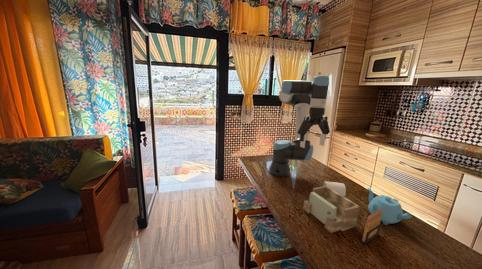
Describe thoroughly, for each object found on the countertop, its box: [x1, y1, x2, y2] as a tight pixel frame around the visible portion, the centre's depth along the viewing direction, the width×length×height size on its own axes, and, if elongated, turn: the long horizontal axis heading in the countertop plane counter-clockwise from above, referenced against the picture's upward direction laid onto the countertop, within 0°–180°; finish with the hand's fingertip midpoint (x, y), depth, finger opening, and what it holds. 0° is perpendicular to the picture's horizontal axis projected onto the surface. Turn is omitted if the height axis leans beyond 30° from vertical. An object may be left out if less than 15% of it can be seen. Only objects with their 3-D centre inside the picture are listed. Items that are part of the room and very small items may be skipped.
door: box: [309, 191, 337, 225], centre depth 87 cm, size 14×3×10 cm, turn 23°
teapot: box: [367, 187, 413, 226], centre depth 89 cm, size 15×14×11 cm
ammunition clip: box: [360, 209, 382, 244], centre depth 77 cm, size 11×2×12 cm, turn 121°
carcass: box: [302, 185, 361, 234], centre depth 89 cm, size 19×14×10 cm
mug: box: [322, 180, 347, 198], centre depth 110 cm, size 12×10×8 cm
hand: (312, 146), depth 103 cm, fingers open, 13 cm apart
